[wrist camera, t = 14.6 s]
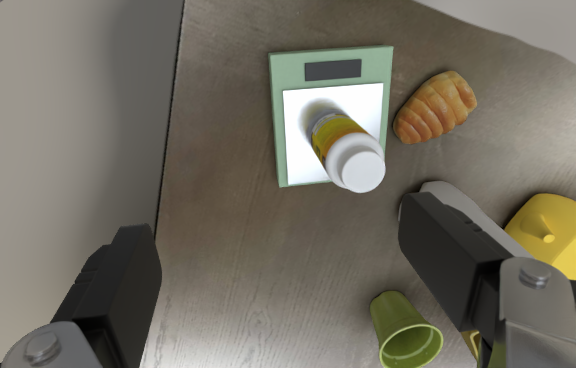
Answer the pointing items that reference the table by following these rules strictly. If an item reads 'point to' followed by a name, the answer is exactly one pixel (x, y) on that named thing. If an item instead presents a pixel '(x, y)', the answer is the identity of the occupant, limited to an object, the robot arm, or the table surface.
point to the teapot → (548, 231)
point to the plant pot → (403, 332)
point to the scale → (324, 101)
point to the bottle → (472, 214)
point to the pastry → (435, 108)
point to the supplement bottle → (348, 153)
